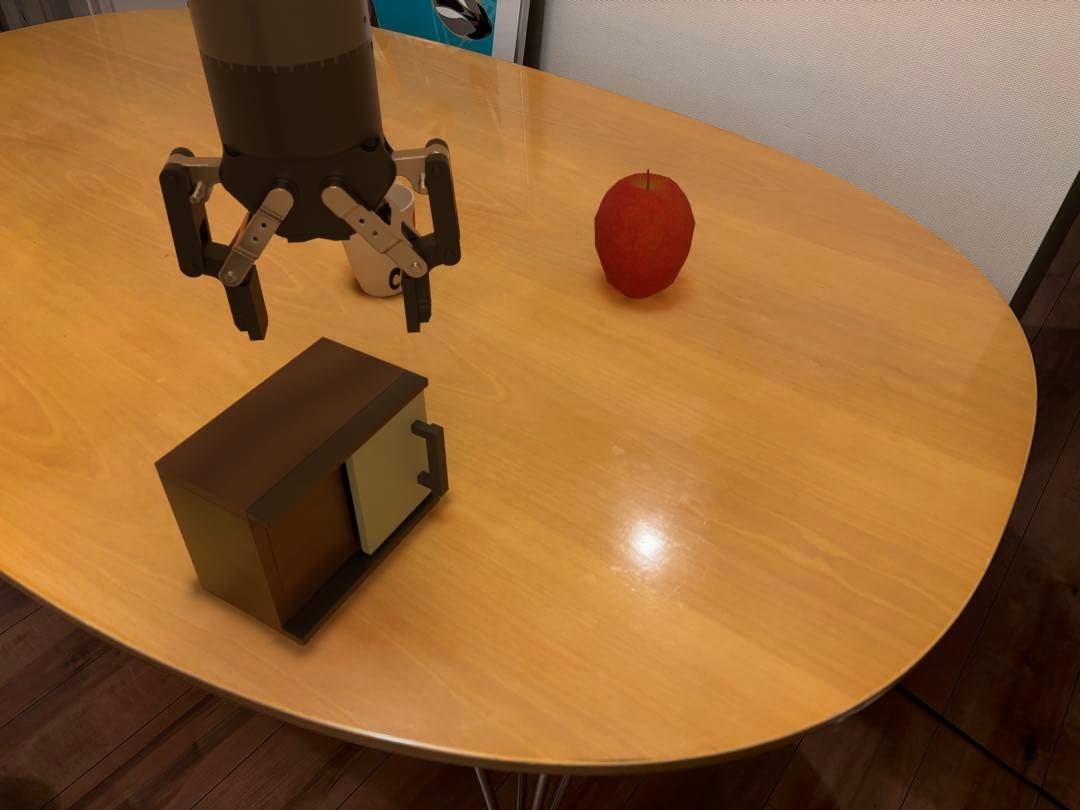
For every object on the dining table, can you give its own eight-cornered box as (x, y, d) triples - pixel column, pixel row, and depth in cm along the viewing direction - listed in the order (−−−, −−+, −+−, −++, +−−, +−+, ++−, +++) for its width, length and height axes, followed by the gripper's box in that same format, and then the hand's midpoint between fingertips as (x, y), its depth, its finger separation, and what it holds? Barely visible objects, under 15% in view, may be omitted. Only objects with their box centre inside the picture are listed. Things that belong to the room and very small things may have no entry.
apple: (677, 324, 90) (693, 199, 81) (581, 308, 92) (586, 185, 83) (692, 272, 97) (708, 152, 88) (603, 258, 99) (610, 140, 90)
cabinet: (440, 499, 71) (428, 377, 63) (303, 646, 60) (267, 522, 52) (345, 456, 75) (322, 336, 67) (201, 587, 64) (153, 463, 56)
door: (458, 499, 69) (450, 397, 63) (395, 568, 64) (379, 465, 58) (426, 484, 71) (415, 383, 64) (362, 551, 65) (342, 448, 59)
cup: (402, 310, 91) (392, 223, 85) (332, 296, 93) (317, 210, 87) (434, 271, 97) (427, 187, 91) (368, 258, 99) (356, 175, 93)
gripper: (93, 63, 36) (194, 377, 46) (447, 53, 37) (467, 362, 47) (139, 6, 41) (220, 298, 52) (445, -1, 42) (463, 286, 53)
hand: (338, 328), depth 49 cm, fingers open, 8 cm apart
